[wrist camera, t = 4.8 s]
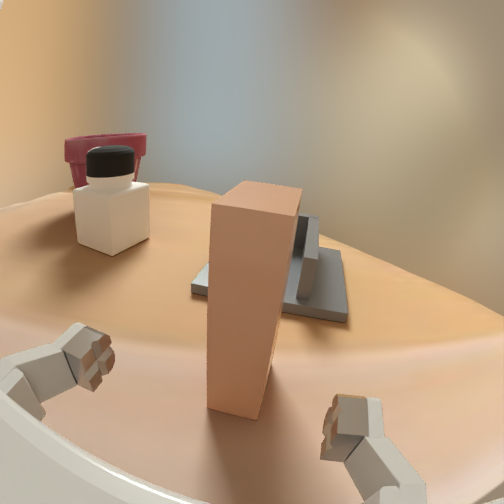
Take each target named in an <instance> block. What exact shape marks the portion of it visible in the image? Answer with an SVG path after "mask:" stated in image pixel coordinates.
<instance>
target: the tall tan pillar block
mask: <svg viewBox="0 0 504 504" xmlns="http://www.w3.org/2000/svg"><path fill="white" fill-rule="evenodd" d="M301 195H302V189H299V188H292V187H286V186H280V185H273V184H267V183H260V182H253V181H245V180H244V181H243V182H241V183H240V184H239V185H237V186H236V187H235V188H233V189H231V190H230V191H229V192H227V193H226V194H224V195H223V196H221V197H220V198H219V199H217V200H216V201H214V202H213V203H212V209H211V227H210V247H209V272H208V305H207V408H209V409H213V410H217V411H220V412H224V413H228V414H232V415H236V416H240V417H245V418H249V419H254V420H257V418H258V415H259V411H260V407H261V403H262V399H263V396H264V392H265V388H266V384H267V380H268V376H269V372H270V368H271V364H272V359H273V354H274V349H275V344H276V339H277V334H278V329H279V324H280V319H281V314H282V308H283V303H284V298H285V292H286V287H287V281H288V276H289V270H290V264H291V258H292V252H293V247H294V240H295V234H296V228H297V222H298V216H299V209H300V203H301Z"/></svg>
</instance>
